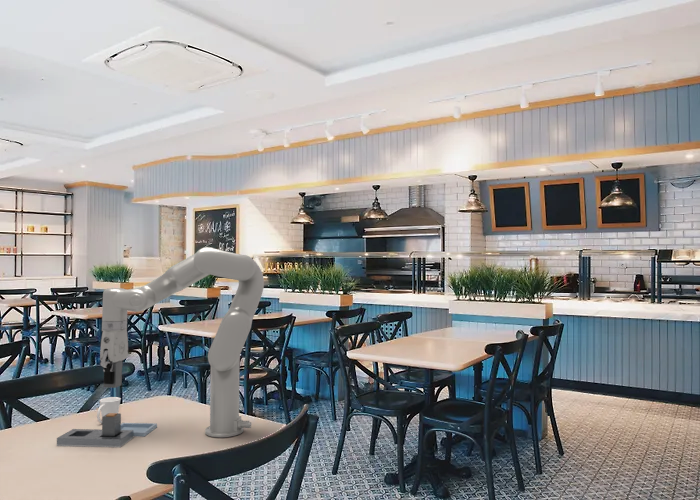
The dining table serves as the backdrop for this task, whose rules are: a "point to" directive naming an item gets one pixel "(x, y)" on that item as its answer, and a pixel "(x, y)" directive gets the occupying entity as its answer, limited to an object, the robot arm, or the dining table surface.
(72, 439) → the grey socket
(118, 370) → the plug
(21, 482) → the dining table surface
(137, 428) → the tray
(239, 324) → the robot arm
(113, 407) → the cup
